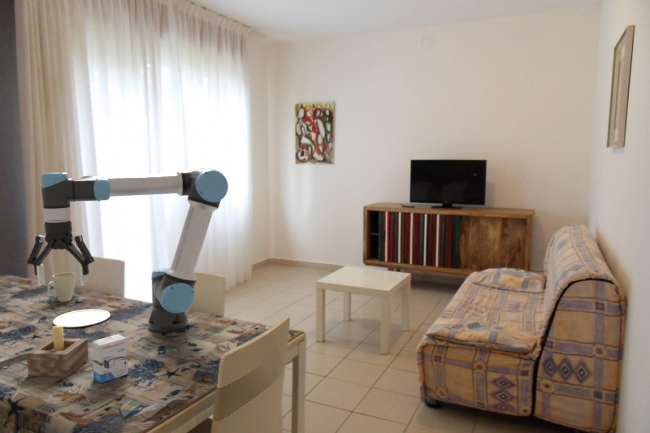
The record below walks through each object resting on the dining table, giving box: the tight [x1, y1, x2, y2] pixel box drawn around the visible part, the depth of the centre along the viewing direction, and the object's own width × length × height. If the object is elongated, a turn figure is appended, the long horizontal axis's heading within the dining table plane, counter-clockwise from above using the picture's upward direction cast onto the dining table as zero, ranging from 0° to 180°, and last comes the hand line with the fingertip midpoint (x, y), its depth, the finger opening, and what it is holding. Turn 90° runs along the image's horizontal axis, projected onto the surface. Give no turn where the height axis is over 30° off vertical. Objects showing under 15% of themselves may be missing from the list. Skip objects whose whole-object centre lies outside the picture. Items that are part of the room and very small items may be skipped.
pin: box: [52, 325, 65, 351], centre depth 143 cm, size 3×3×12 cm
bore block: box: [26, 337, 89, 377], centre depth 143 cm, size 12×12×7 cm
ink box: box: [91, 333, 129, 384], centre depth 138 cm, size 9×5×12 cm, turn 141°
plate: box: [52, 308, 111, 329], centre depth 186 cm, size 21×21×1 cm
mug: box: [46, 272, 76, 303], centre depth 207 cm, size 11×10×12 cm
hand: (62, 284), depth 149 cm, fingers open, 13 cm apart
